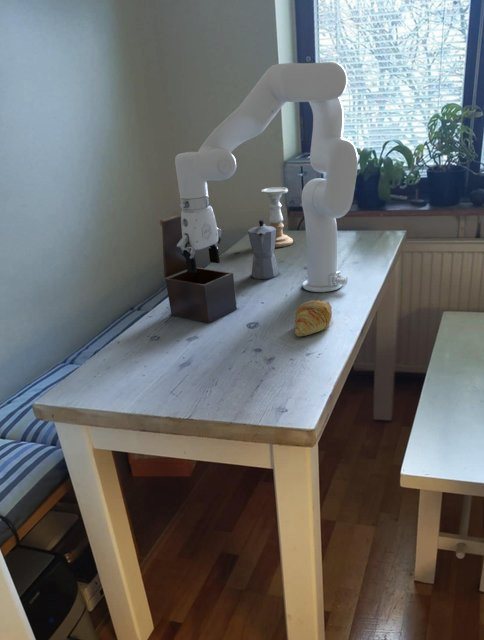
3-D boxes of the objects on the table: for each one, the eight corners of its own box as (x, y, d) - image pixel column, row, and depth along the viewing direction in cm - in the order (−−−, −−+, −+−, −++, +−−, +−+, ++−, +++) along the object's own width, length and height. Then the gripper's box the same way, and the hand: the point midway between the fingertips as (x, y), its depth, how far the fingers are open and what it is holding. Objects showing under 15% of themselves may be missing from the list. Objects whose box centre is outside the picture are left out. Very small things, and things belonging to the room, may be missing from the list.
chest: (236, 309, 180) (233, 272, 174) (209, 323, 172) (204, 285, 166) (199, 301, 188) (194, 266, 182) (171, 314, 179) (165, 278, 174)
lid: (195, 212, 172) (182, 207, 174) (163, 221, 163) (150, 217, 165) (195, 265, 182) (183, 261, 184) (166, 277, 173) (153, 272, 175)
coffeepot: (277, 280, 201) (274, 224, 191) (249, 281, 202) (244, 225, 192) (280, 267, 214) (277, 213, 204) (253, 268, 214) (249, 215, 205)
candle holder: (264, 240, 247) (260, 187, 236) (294, 239, 245) (292, 185, 234) (260, 248, 237) (255, 193, 226) (291, 247, 235) (288, 191, 224)
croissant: (309, 353, 157) (321, 329, 152) (276, 333, 158) (288, 308, 153) (335, 322, 173) (348, 299, 168) (306, 304, 174) (317, 281, 169)
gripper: (183, 211, 154) (193, 277, 164) (226, 197, 166) (233, 260, 175) (162, 209, 158) (173, 274, 168) (206, 196, 170) (213, 257, 179)
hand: (203, 267), depth 171 cm, fingers open, 9 cm apart
